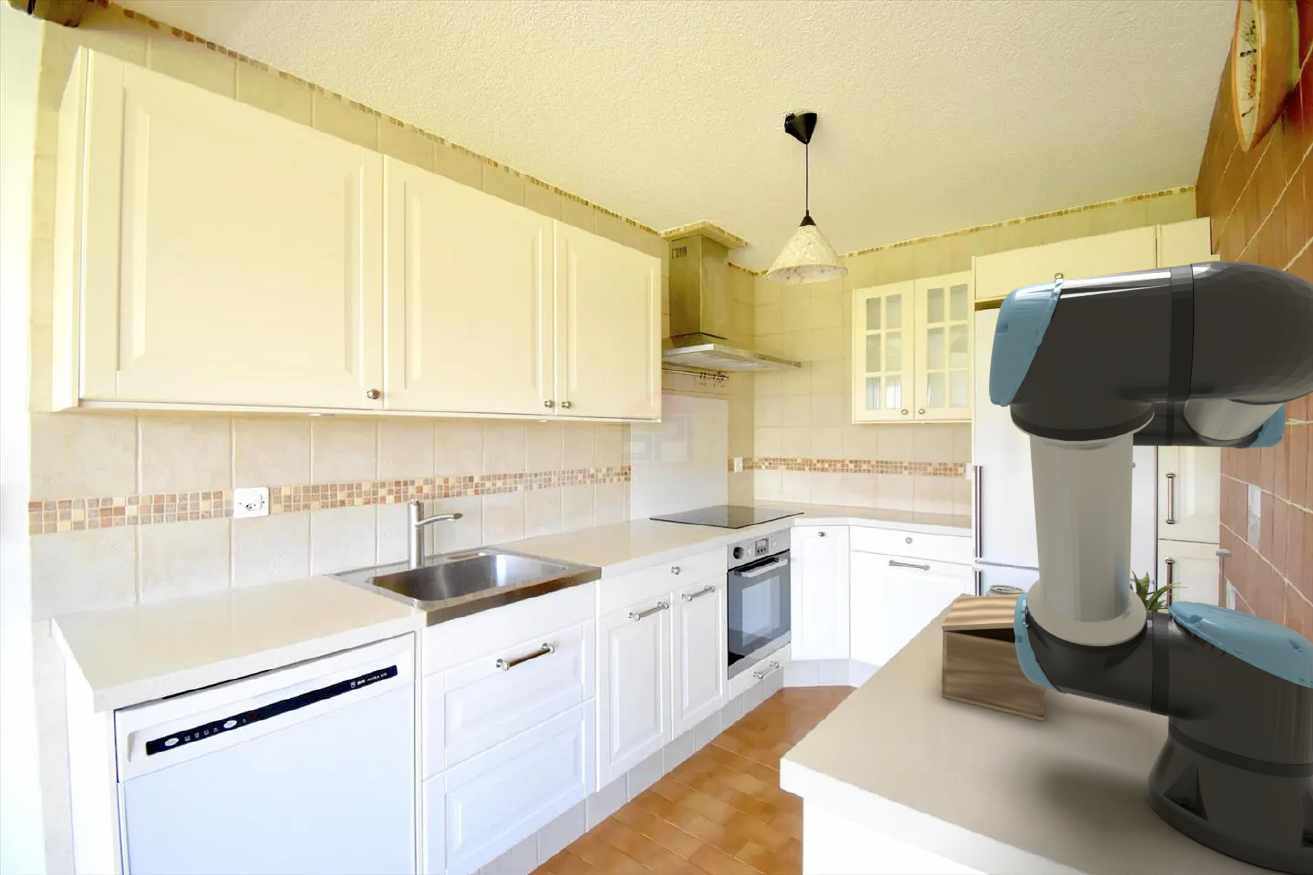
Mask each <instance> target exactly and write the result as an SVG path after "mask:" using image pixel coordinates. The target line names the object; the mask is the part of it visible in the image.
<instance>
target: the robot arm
mask: <svg viewBox="0 0 1313 875" xmlns="http://www.w3.org/2000/svg"><path fill="white" fill-rule="evenodd" d="M997 315H998V316H997V318H996V320H997V321H996V324H995V330H994V336H993V342H992V348H991V349H992V350H991V356H990V366H989V376H988V378H989V379H988V380H989V381H988V395H989V397H990V398H989V399H990V402H991V403H992V404H993V405H995V406H1000V407H1001V408H1007V407H1009V411H1010V417H1011V418H1010V419H1011V421H1012V422H1011V423H1012V424H1013V425H1014V427H1015V428H1017V429H1018V430H1019V431H1020V432H1022V433H1024V434H1025V435H1028V436H1029V445H1030V446H1029V447H1030V448H1029V450H1030V461H1031V477H1032V488H1033V491H1032V492H1033V502H1034V503H1033V505H1034V517H1035V518H1034V519H1035V532H1036V534H1035V535H1036V545H1037V546H1036V548H1037V561H1038V563H1037V564H1038V575H1039V579H1037V580H1036V581H1035V582H1034V583H1033V584H1032V585H1031V586H1030V588H1029V589H1028V591H1027V592H1024V593H1022V594H1021V595H1020V596H1019V597H1018V599H1017V602H1016V606H1015V613H1014V633H1015V639H1016V641H1015V647H1016V653H1017V657H1018V661H1019V664H1020V667H1021V670H1022V672H1023V673H1024V675H1025V676H1026V677H1027V678H1028V679H1029V680H1030V681H1031V682H1033V683H1034V684H1036V685H1039V686H1043V687H1045V688H1046V689H1047V688H1048V689H1050V690H1053V691H1055V692H1058V693H1060V694H1064V695H1066V694H1068V695H1071V696H1077V697H1081V698H1085V699H1086V698H1087V699H1090V700H1094V701H1099V702H1104V703H1107V704H1111V705H1117V706H1121V707H1125V708H1130V709H1134V710H1138V711H1143V712H1147V713H1152V714H1155V715H1160V716H1163V717H1168V718H1167V719H1168V720H1167V722H1168V724H1167V737H1166V738H1165V741H1164V744H1163V746H1162V747H1161V750H1160V751H1159V754H1158V756H1157V757H1156V759H1155V762H1154V763H1153V766H1152V767H1151V769H1150V772H1149V774H1148V776H1147V789H1146V790H1147V801H1148V803H1149V805H1150V807H1151V808H1152V809H1153V810H1154V811H1155V813H1156V814H1158V815H1159V817H1161V818H1162V819H1163V820H1164V821H1166V823H1168V824H1169V825H1171V827H1174V828H1175V829H1176V830H1177V831H1179V832H1181V833H1183V834H1184V835H1186V836H1187V837H1190V838H1192V839H1194V840H1195V841H1197V842H1199V843H1200V844H1203V845H1205V846H1207V847H1209V848H1212V849H1213V850H1216V851H1218V852H1220V853H1222V854H1226V855H1228V856H1231V857H1232V858H1235V859H1239V860H1241V861H1244V862H1248V863H1250V864H1254V865H1255V866H1260V867H1263V868H1267V869H1271V870H1275V871H1276V870H1277V871H1281V872H1286V873H1292V874H1298V875H1311V874H1313V643H1312V642H1310V640H1309V639H1308V638H1307V637H1305V636H1303V635H1302V634H1301V633H1300V632H1298V631H1297V630H1294V629H1292V628H1290V627H1287V626H1286V625H1282V624H1281V623H1277V622H1275V621H1272V620H1269V619H1266V618H1264V617H1261V616H1258V615H1254V614H1251V613H1247V612H1244V611H1239V610H1236V609H1232V608H1228V607H1225V606H1224V607H1225V608H1224V607H1222V606H1219V605H1213V604H1208V603H1203V602H1192V601H1186V600H1181V601H1180V600H1177V601H1174V602H1173V603H1171V604H1170V606H1169V607H1167V608H1168V609H1167V613H1166V612H1165V613H1164V612H1159V611H1149V610H1146V608H1145V606H1144V604H1143V602H1142V600H1141V598H1140V597H1139V596H1138V595H1137V594H1136V591H1134V589H1133V590H1132V589H1131V588H1130V584H1131V562H1132V561H1131V560H1132V559H1131V555H1132V515H1133V514H1132V512H1133V511H1132V510H1133V508H1132V507H1133V469H1135V468H1136V466H1137V465H1136V462H1135V461H1134V457H1133V456H1134V446H1135V447H1199V448H1200V447H1201V448H1202V447H1203V448H1208V447H1209V448H1236V449H1240V450H1241V449H1242V450H1245V449H1251V448H1255V449H1256V448H1273V447H1275V446H1278V445H1279V444H1280V443H1281V442H1282V440H1283V435H1284V434H1285V430H1286V416H1287V414H1286V403H1290V402H1293V401H1296V400H1299V399H1301V398H1304V397H1305V396H1308V395H1310V394H1313V283H1312V282H1311V281H1309V280H1307V279H1305V278H1303V277H1301V276H1300V275H1299V276H1298V275H1296V274H1295V273H1292V272H1289V271H1285V270H1282V269H1279V268H1275V267H1272V266H1268V265H1264V264H1260V263H1254V262H1253V263H1252V262H1247V261H1246V262H1245V261H1236V260H1235V261H1231V260H1229V261H1228V260H1210V261H1202V262H1194V263H1192V262H1191V263H1190V264H1185V265H1176V266H1167V267H1166V266H1164V267H1157V268H1150V269H1142V270H1134V271H1126V272H1119V273H1112V274H1111V273H1110V274H1102V275H1094V276H1086V277H1077V278H1070V279H1064V278H1057V279H1055V280H1054V281H1049V282H1043V283H1038V284H1032V285H1026V286H1021V287H1018V288H1016V289H1014V290H1012V291H1011V292H1009V293H1008V294H1007V295H1006V296H1005V298H1004V300H1003V301H1002V303H1001V305H1000V308H999V311H998V314H997Z"/></svg>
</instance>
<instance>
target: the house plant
mask: <svg viewBox="0 0 1313 875" xmlns="http://www.w3.org/2000/svg"><path fill="white" fill-rule="evenodd" d="M1131 572H1132V575H1133V579H1134V583H1135V590H1136V591H1135V593H1136V594H1137V595H1138V596H1139V597H1140V598H1141V600H1142V602H1143V604H1144V606H1145V608H1146V610H1149V611H1154V612H1158V611H1159V610H1168V608H1169V607H1165V605H1163V604H1164V603H1165V602H1169V601H1170V602H1171V599H1163V600H1159V599H1160V598H1162V597H1163V596H1166V595H1174V596H1175V595H1177V594H1175V593H1171V592H1170V593H1166V592H1168V591H1170V590H1171V589H1175V588H1176V589H1177V588H1179V589H1180V588H1181V589H1183V588H1184V589H1187V587H1185V586H1177V585H1179V584H1181V582H1174V583H1169V584H1166V585H1164V586H1162V587H1160V588H1159V589H1157V590H1155V591H1149V588H1150V584H1151V583H1150V582H1151V581H1150V574H1149V572H1148V570H1147V571H1146V573H1145V576H1144V577H1143V578H1142V579H1141V580H1140V581H1139V579H1138V578H1137V575H1136V573H1135V572H1134V570H1131ZM1132 584H1133V583H1131V582H1130V588H1131V589H1132V590H1133V591H1134V587H1133V585H1132ZM1174 585H1176V586H1174ZM1149 595H1150V598H1148V596H1149ZM1163 613H1166V611H1165V612H1163Z"/></svg>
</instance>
